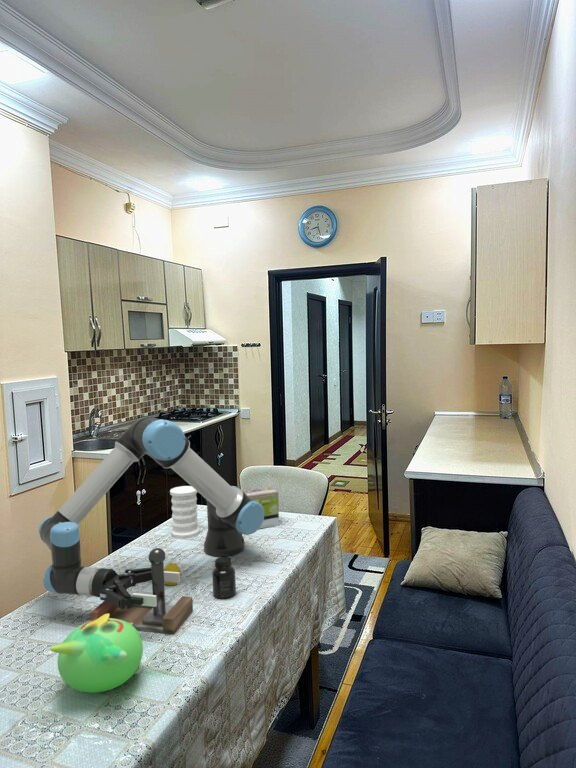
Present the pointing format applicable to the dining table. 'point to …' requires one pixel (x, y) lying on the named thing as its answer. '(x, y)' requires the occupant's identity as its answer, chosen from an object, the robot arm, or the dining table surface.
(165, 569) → the lemon
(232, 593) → the supplement bottle
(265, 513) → the tea box
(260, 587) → the dining table surface
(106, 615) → the toy bird
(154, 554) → the press handle
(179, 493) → the decorative container
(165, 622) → the press base
